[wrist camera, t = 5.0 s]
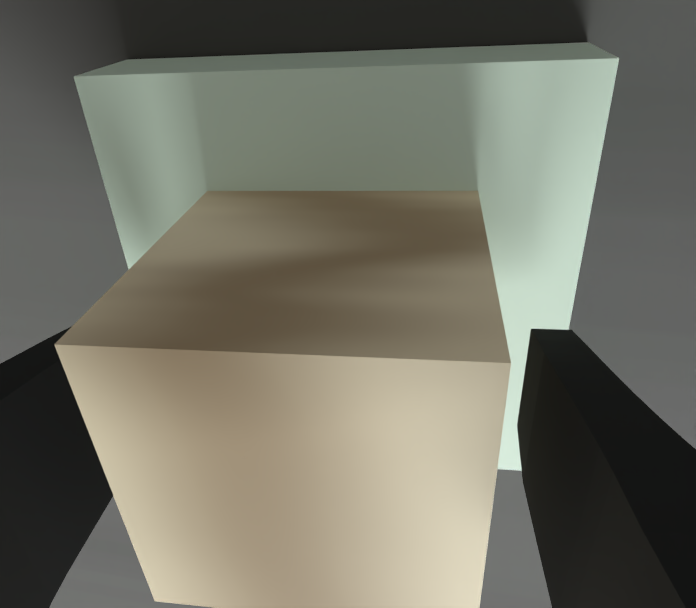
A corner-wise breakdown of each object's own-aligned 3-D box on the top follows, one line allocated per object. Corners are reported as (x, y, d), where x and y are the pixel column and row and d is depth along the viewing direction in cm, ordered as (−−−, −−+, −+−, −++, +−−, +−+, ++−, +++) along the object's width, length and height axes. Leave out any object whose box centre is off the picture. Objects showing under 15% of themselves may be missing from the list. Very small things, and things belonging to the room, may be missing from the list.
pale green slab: (588, 42, 10) (618, 58, 8) (529, 413, 15) (541, 472, 13) (127, 59, 11) (73, 76, 10) (206, 397, 16) (179, 448, 14)
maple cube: (478, 190, 10) (512, 362, 6) (461, 406, 12) (476, 635, 8) (207, 190, 10) (53, 344, 6) (245, 394, 13) (155, 600, 9)
